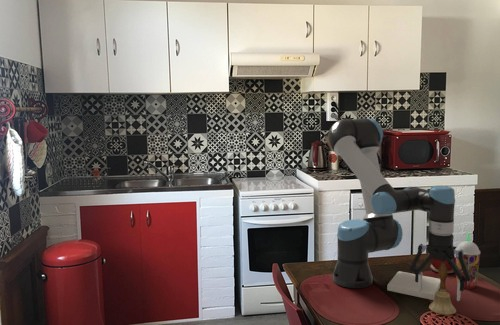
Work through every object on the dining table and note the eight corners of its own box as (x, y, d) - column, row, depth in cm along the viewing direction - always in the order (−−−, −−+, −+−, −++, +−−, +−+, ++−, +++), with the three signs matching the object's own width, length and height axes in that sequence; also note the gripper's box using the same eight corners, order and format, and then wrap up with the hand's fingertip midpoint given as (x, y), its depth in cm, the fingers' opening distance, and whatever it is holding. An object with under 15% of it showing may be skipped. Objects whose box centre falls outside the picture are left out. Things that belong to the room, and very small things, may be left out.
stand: (387, 290, 155) (387, 285, 155) (398, 275, 169) (398, 271, 168) (433, 300, 147) (433, 294, 146) (441, 284, 160) (441, 279, 160)
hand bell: (436, 315, 136) (438, 268, 134) (424, 304, 144) (425, 259, 142) (461, 314, 136) (463, 267, 134) (447, 302, 144) (449, 258, 143)
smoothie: (482, 291, 153) (484, 237, 151) (457, 289, 155) (459, 236, 152) (474, 282, 161) (477, 231, 159) (451, 280, 163) (453, 230, 160)
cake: (427, 272, 172) (428, 229, 170) (430, 264, 180) (432, 223, 178) (455, 276, 167) (457, 232, 164) (458, 269, 174) (460, 227, 172)
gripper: (401, 230, 143) (399, 291, 146) (480, 241, 130) (477, 308, 133) (406, 225, 150) (405, 284, 152) (482, 235, 137) (479, 299, 139)
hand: (438, 295), depth 143 cm, fingers open, 11 cm apart
